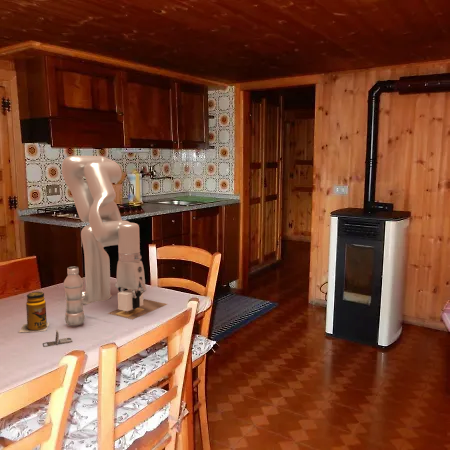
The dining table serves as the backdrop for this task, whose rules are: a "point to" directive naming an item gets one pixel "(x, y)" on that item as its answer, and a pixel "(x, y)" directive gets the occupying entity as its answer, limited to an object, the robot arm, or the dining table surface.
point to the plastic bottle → (74, 297)
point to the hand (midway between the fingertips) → (130, 306)
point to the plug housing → (127, 300)
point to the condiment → (35, 313)
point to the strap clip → (61, 341)
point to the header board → (139, 309)
